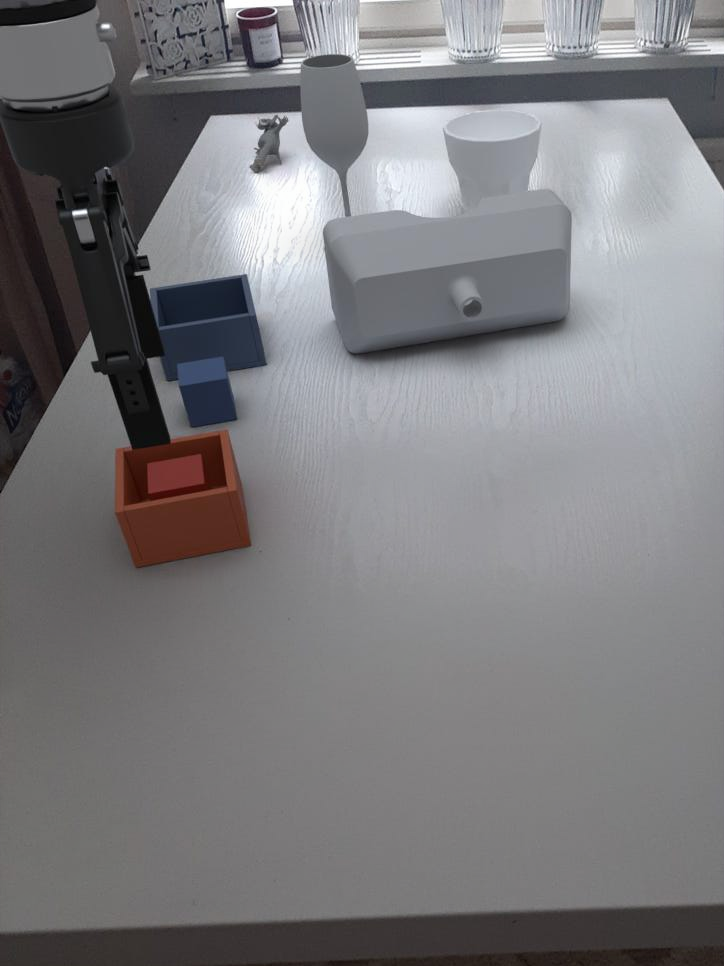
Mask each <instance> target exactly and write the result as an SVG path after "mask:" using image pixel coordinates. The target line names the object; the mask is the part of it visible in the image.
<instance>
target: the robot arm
mask: <svg viewBox="0 0 724 966" xmlns="http://www.w3.org/2000/svg"><path fill="white" fill-rule="evenodd" d="M97 2H98V0H0V125H1V128H2V130H3V134H4V136H5V138H6V141H7V145H8V148H9V151H10V153H11V157H12V159H13V161H14V163H15V164H16V166H17V167H18V168H19V169H21V170H22V171H23V172H26V173H29V174H30V175H34V176H39V177H42V176H48V177H51V178H54V179H55V180H57V181H59V185H57V186H56V191H57V195H58V199H55V200H54V203H55V208H56V213H57V218H58V222H59V225H60V226H61V227H62V230H63V234H64V236H65V239H66V243H67V247H68V249H69V253H70V257H71V261H72V265H73V268H74V272H75V275H76V280H77V284H78V287H79V291H80V295H81V300H82V303H83V306H84V310H85V314H86V318H87V319H86V320H87V322H88V326H89V330H90V333H91V338H92V342H93V346H94V349H95V353H96V356H97V360H91V361H90V364H91V367H92V368H91V369H92V371H93V372H94V373H95V374H97V373H101V374H102V375H103V376H107V377H108V380H109V384H110V387H111V389H112V393H113V396H114V399H115V402H116V405H117V407H118V411H119V414H120V417H121V420H122V422H123V423H122V424H123V426H124V429H125V431H126V435H127V438H128V440H129V441H128V442H129V443H130V446H131V447H132V450H136V449H142V448H148V447H154V446H160V445H166V444H171V439H172V438H171V435H170V432H169V429H168V425H167V422H166V418H165V415H164V412H163V409H162V405H161V402H160V399H159V395H158V391H157V388H156V385H155V381H154V378H153V375H152V371H151V368H150V366H149V361H148V359H155V358H160V357H161V356H165V351H164V347H163V344H162V340H161V336H160V333H159V329H158V326H157V322H156V319H155V315H154V312H153V308H152V304H151V300H150V293H149V291H148V287H147V284H146V283H147V282H146V280H145V277H144V274H137V275H136V273H141V272H148V271H151V264H150V260H149V256H148V254H144V255H139V244H138V242H137V241H136V239H135V237H134V236H135V235H134V233H133V231H132V227H131V225H130V222H129V219H128V216H127V211H126V207H125V203H124V198H123V192H122V187H121V184H120V181H119V179H118V178H116V179H115V178H114V174H113V172H112V168H113V167H116V166H118V165H120V164H121V163H123V162H125V161H126V160H128V159H129V157H130V156H132V154H133V152H134V149H135V139H134V136H133V131H132V128H131V124H130V119H129V116H128V112H127V108H126V106H125V100H124V98H123V93H122V92H121V91H120V90H118V89H117V87H115V86H114V85H113V84H112V82H113V80H114V79H115V77H116V70H115V65H114V62H113V59H112V55H111V51H110V48H109V46H108V44H107V43H108V42H112V41H115V40H116V38H117V37H118V35H117V29H116V28H115V27H114V25H113V24H112V22H108V21H105V22H101V23H100V22H99V17H100V14H101V13H100V9H99V7H98V3H97Z"/></svg>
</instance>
